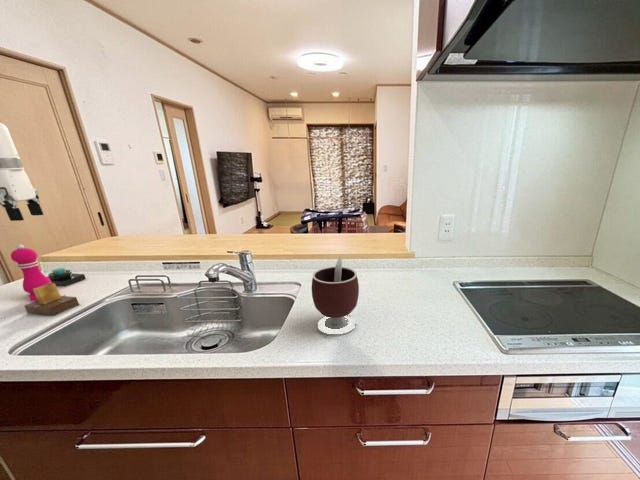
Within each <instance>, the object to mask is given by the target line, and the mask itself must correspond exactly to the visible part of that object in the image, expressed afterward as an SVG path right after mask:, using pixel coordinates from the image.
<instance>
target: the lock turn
mask: <svg viewBox="0 0 640 480" xmlns="http://www.w3.org/2000/svg"><path fill="white" fill-rule="evenodd" d="M33 291H34V293H35V295H36V297H37V299H38V301H39V303H40V304H44V305H45V304H47V303H50V302H52V301H55V300H57V299H60V298H61V296H62V295H61V294H60V292H59V289H58V286H56V285H55V283H47V284H46V285H43V286H40V287H37V288H34V289H33Z"/></svg>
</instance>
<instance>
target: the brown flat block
mask: <svg viewBox="0 0 640 480" xmlns="http://www.w3.org/2000/svg"><path fill="white" fill-rule="evenodd" d="M60 296H61V298H60V299H57V300H55V301H52V302H50V303H47V304H45V305H44V304H40V303H39V301H38V300H37V301H33V302H30V303H27V304H24V305H23V307H24V308H25V311H26V313H27V314H28V315H39V316H50V317H54V316H57V315H59V314H62V313H63V312H66V311H68V310H70V309H73V308H75V307H77V306H80V303H79V301H78V297H76V296H68V295H67V294H64V295H60Z"/></svg>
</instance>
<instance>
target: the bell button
mask: <svg viewBox="0 0 640 480" xmlns="http://www.w3.org/2000/svg"><path fill="white" fill-rule="evenodd" d="M65 270H66V269H65V268H64V267H60V268H55V269H52V270H51V273H52V272H53V274H54V275H58V274H63V273H66V271H65Z"/></svg>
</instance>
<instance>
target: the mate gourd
mask: <svg viewBox="0 0 640 480" xmlns="http://www.w3.org/2000/svg"><path fill="white" fill-rule="evenodd" d="M342 261H343V256H342V255H339V258H338V259H337V262H336V263H335V266H328V267H327V266H326V267H323V268H320V269H317V270H316V271H314V272H313V273H312V279H311V296H312V301H313V305H314V308H315V310H317V311H318V312H319V313H320V314H321V315H322V316H323V317H324V316H326V317H330V318H328V319H326V321H325V326H326V327H328V328H331V329H340V328H343V327H345V326H347V325H348V323H347V322H349V321H348V319H347V318H345V317H344V316H346V315H350V314H351V313H352V312H353V311H354V309H355V308H356V307H357V305H358V302H359V294H360V284H359V279H358V273H357V271H356V270H354V269H352V268H349V267H344V266H343V264H342ZM345 319H347V320H345ZM316 328H317V329H316V330H317V331H318V332H319V333H320V334H323V335H325V336H330V337H341V336H346V335H348V334H350V333H352V332H353V331H354V330H355V329H356V328H357V325H356V326H355V328H354V329H352V330H351V331H349V332H347V333H343V334H327V333H324V332H322V331H320V330H319V329H318V327H317V326H316Z"/></svg>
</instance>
